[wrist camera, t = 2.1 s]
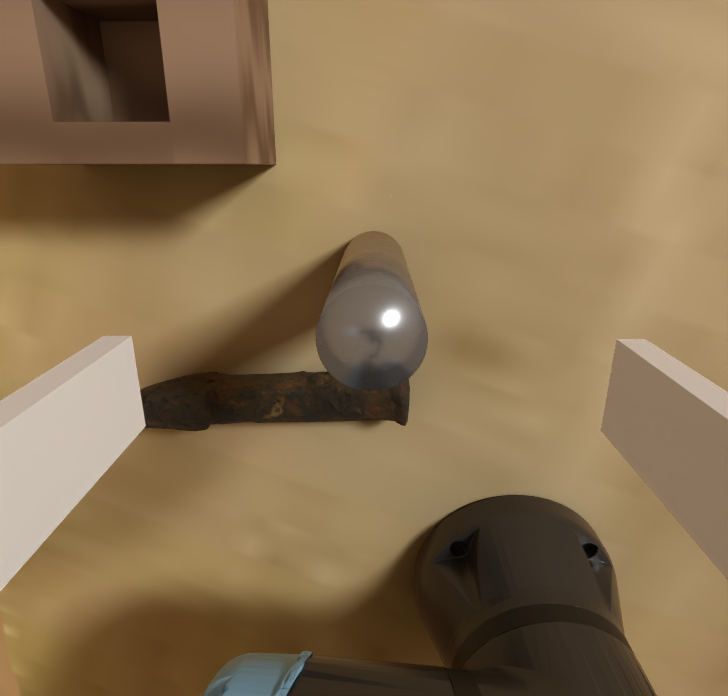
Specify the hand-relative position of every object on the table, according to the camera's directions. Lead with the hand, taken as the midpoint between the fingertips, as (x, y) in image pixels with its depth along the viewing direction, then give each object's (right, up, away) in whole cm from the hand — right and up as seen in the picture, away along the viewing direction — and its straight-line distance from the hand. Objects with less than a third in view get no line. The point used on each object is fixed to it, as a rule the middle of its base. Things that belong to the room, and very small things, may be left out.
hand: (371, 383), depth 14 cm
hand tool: (-7, -2, +23) cm, 24 cm away
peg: (0, +6, +19) cm, 20 cm away
